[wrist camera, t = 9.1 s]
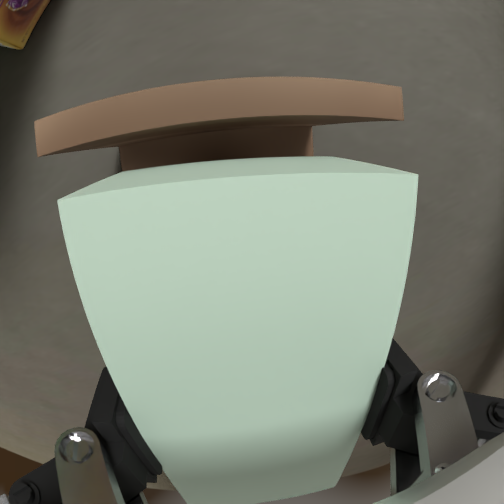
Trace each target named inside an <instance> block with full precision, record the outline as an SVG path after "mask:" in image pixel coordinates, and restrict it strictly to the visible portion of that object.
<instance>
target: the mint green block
mask: <svg viewBox="0 0 504 504" xmlns="http://www.w3.org/2000/svg"><path fill="white" fill-rule="evenodd" d="M417 188H418V174H414V173H410V172H406V171H402V170H397V169H393V168H389V167H384V166H379V165H375V164H370V163H365V162H360V161H355V160H349V159H344V158H338V157H332V156H300V157H265V158H245V159H229V160H216V161H204V162H193V163H184V164H175V165H166V166H158V167H150V168H143V169H136V170H129V171H123V172H120V173H118V174H115V175H113V176H110V177H108V178H106V179H103V180H101V181H98V182H96V183H94V184H91V185H89V186H87V187H85V188H82V189H80V190H78V191H76V192H74V193H71V194H69V195H67V196H65V197H63V198H61V199H59V200H57V202H58V207H59V213H60V218H61V223H62V228H63V233H64V237H65V242H66V246H67V250H68V254H69V258H70V262H71V266H72V270H73V273H74V277H75V280H76V284H77V287H78V290H79V294H80V297H81V300H82V303H83V306H84V309H85V312H86V315H87V318H88V321H89V323H90V326H91V329H92V331H93V334H94V337H95V339H96V342H97V344H98V347H99V349H100V352H101V354H102V357H103V359H104V361H105V364H106V366H107V368H108V371H109V373H110V375H111V377H112V379H113V382H114V384H115V386H116V388H117V390H118V392H119V394H120V396H121V398H122V400H123V402H124V404H125V406H126V408H127V410H128V412H129V414H130V416H131V417H132V419H133V421H134V423H135V425H136V427H137V428H138V430H139V432H140V434H141V435H142V437H143V439H144V440H145V442H146V443H147V445H148V446H149V448H150V449H151V451H152V452H153V454H154V455H155V457H156V458H157V459H158V461H159V462H160V464H161V465H162V469H163V471H164V472H165V474H166V475H167V477H168V478H169V479H170V481H171V482H172V484H173V485H174V486H175V488H176V489H177V491H178V492H179V493H180V495H181V496H182V497H183V499H184V500H185V501H186V503H187V504H256V503H262V502H269V501H275V500H281V499H286V498H291V497H296V496H300V495H305V494H309V493H313V492H317V491H321V490H325V489H328V488H332V487H335V485H336V484H337V482H338V480H339V478H340V476H341V474H342V472H343V470H344V468H345V466H346V464H347V462H348V460H349V458H350V455H351V453H352V451H353V449H354V447H355V444H356V442H357V440H358V437H359V435H360V433H361V430H362V428H363V425H364V423H365V420H366V418H367V415H368V412H369V410H370V407H371V404H372V401H373V398H374V394H375V391H376V388H377V384H378V381H379V378H380V374H381V371H382V368H383V367H384V366H385V363H386V359H387V356H388V353H389V349H390V345H391V342H392V338H393V334H394V330H395V327H396V322H397V318H398V314H399V310H400V305H401V301H402V296H403V291H404V286H405V281H406V276H407V270H408V264H409V258H410V252H411V245H412V238H413V230H414V221H415V212H416V201H417Z"/></svg>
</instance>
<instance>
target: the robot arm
mask: <svg viewBox="0 0 504 504" xmlns="http://www.w3.org/2000/svg"><path fill="white" fill-rule="evenodd" d="M361 433H362V435H363V437H364V438H365V439H366V440H367V439H370V441H371V443H372V445H373V446H374V445H377V444H379V443H382V442H385V444H386V446H387V447H390V467H391V469H390V470H391V496H390V497H388V498H386V499H384V500H381V501H379V502H376V503H374V504H504V399H502V398H496V397H490V396H485V395H479V394H474V393H469V392H464V391H463V390H462V387H461V385H460V383H459V381H458V379H457V378H456V377H455V376H453V375H452V374H450V373H448V372H445V371H442V370H433V371H429V372H427V373H425V374H422V373H421V371H420V370H419V369H418V368H417V366H416V365H415V364H414V363H413V362H412V360H411V359H410V358H409V357H408V356H407V354H406V353H405V352H404V351H403V350H402V348H401V347H400V346H399V345H398V344H397V343H396V341H395V340H394V339H393V338H392V342H391V345H390V349H389V353H388V356H387V359H386V363H385V366H384V367H383V368H382V371H381V374H380V378H379V381H378V384H377V388H376V391H375V394H374V398H373V401H372V404H371V407H370V410H369V412H368V415H367V418H366V420H365V423H364V425H363V428H362V430H361ZM161 473H162V465H161V464H160V462H159V461H158V459H157V458H156V457H155V455H154V454H153V452H152V451H151V449H150V448H149V446H148V445H147V443H146V442H145V440H144V439H143V437H142V435H141V434H140V432H139V430H138V428H137V427H136V425H135V423H134V421H133V419H132V417H131V416H130V414H129V412H128V410H127V408H126V406H125V404H124V402H123V400H122V398H121V396H120V394H119V392H118V390H117V388H116V386H115V384H114V382H113V379H112V377H111V375H110V373H109V371H108V368H107V366H106V367H105V368H104V369H103V370H102V373H101V376H100V379H99V382H98V385H97V388H96V391H95V394H94V398H93V401H92V404H91V407H90V411H89V414H88V418H87V421H86V425H85V428H82V427H77V428H72V429H69V430H67V431H65V432H64V433H62V434H61V435H60V437H59V438H58V439H57V441H56V444H55V458H53V459H52V460H50V461H48V462H47V463H45V464H43V465H42V466H40V467H39V468H37V469H35V470H33V471H32V472H30V473H28V474H27V475H25V476H23V477H21V478H20V479H18V480H17V481H16V482H14V483H13V485H12V487H11V488H10V492H9V496H7V495H6V494H3V495H1V496H0V504H148V503H147V500H146V498H145V496H144V493H143V490H144V489H146V484H147V482H151V483H157V475H160V474H161Z"/></svg>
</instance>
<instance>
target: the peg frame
mask: <svg viewBox="0 0 504 504" xmlns="http://www.w3.org/2000/svg"><path fill="white" fill-rule="evenodd" d="M398 120H404V114H403V99H402V88H401V87H397V86H391V85H384V84H378V83H370V82H362V81H353V80H343V79H330V78H312V77H249V78H231V79H218V80H208V81H198V82H190V83H183V84H176V85H169V86H163V87H157V88H151V89H146V90H141V91H136V92H131V93H127V94H122V95H118V96H114V97H110V98H106V99H102V100H98V101H94V102H91V103H87V104H84V105H81V106H77V107H74V108H71V109H68V110H65V111H62V112H59V113H56V114H53V115H50V116H47V117H44V118H42V119H39V120H36V121H34V124H35V137H36V147H37V156H38V157H41V156H47V155H53V154H59V153H66V152H73V151H81V150H89V149H98V148H107V147H118V146H119V151H120V159H121V167H122V172H123V171H129V170H136V169H143V168H150V167H158V166H166V165H175V164H184V163H193V162H204V161H216V160H229V159H245V158H265V157H300V156H313V137H312V126H316V125H326V124H338V123H351V122H368V121H398Z"/></svg>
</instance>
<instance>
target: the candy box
mask: <svg viewBox="0 0 504 504" xmlns="http://www.w3.org/2000/svg"><path fill="white" fill-rule="evenodd" d="M49 2H50V0H0V46H5V47H9V48H14V49H23V48H24V46H25V44H26V42H27V40H28V38H29V36H30V34H31V32H32V30H33V28H34V26H35V25H36V23H37V21H38V19H39V18H40V16H41V14H42V13H43V11H44V9H45V8H46V7H47V5H48V3H49Z"/></svg>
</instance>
